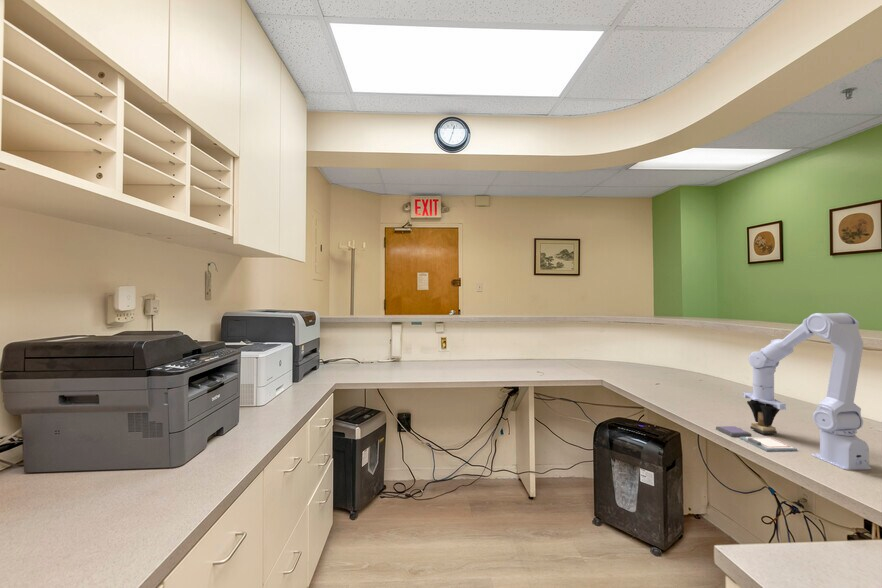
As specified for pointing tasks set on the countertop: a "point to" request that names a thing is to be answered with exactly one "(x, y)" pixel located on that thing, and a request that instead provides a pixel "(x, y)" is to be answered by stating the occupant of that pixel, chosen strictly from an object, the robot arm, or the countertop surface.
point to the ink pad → (733, 431)
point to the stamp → (762, 426)
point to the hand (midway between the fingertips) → (763, 423)
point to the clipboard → (768, 443)
